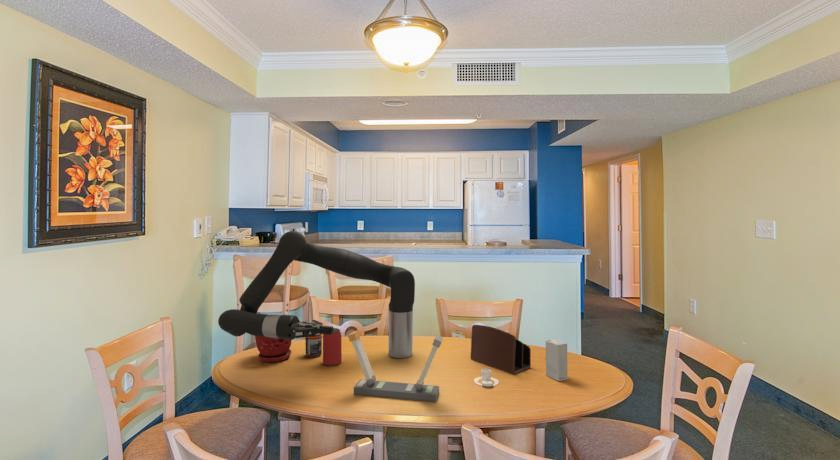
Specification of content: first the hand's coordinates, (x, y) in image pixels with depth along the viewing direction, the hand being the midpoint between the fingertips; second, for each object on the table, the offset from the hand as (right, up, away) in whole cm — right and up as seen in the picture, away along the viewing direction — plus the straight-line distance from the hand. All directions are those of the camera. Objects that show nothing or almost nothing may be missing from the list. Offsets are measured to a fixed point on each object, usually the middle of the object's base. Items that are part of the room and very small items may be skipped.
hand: (332, 330), depth 130 cm
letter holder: (+56, -18, +23) cm, 63 cm away
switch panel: (+20, -18, -3) cm, 27 cm away
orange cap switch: (+12, -15, -2) cm, 19 cm away
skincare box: (+73, -18, +10) cm, 75 cm away
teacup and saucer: (+46, -19, +5) cm, 50 cm away
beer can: (-5, -17, +22) cm, 28 cm away
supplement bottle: (-13, -17, +30) cm, 37 cm away
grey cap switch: (+27, -15, -5) cm, 31 cm away
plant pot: (-27, -17, +26) cm, 42 cm away
